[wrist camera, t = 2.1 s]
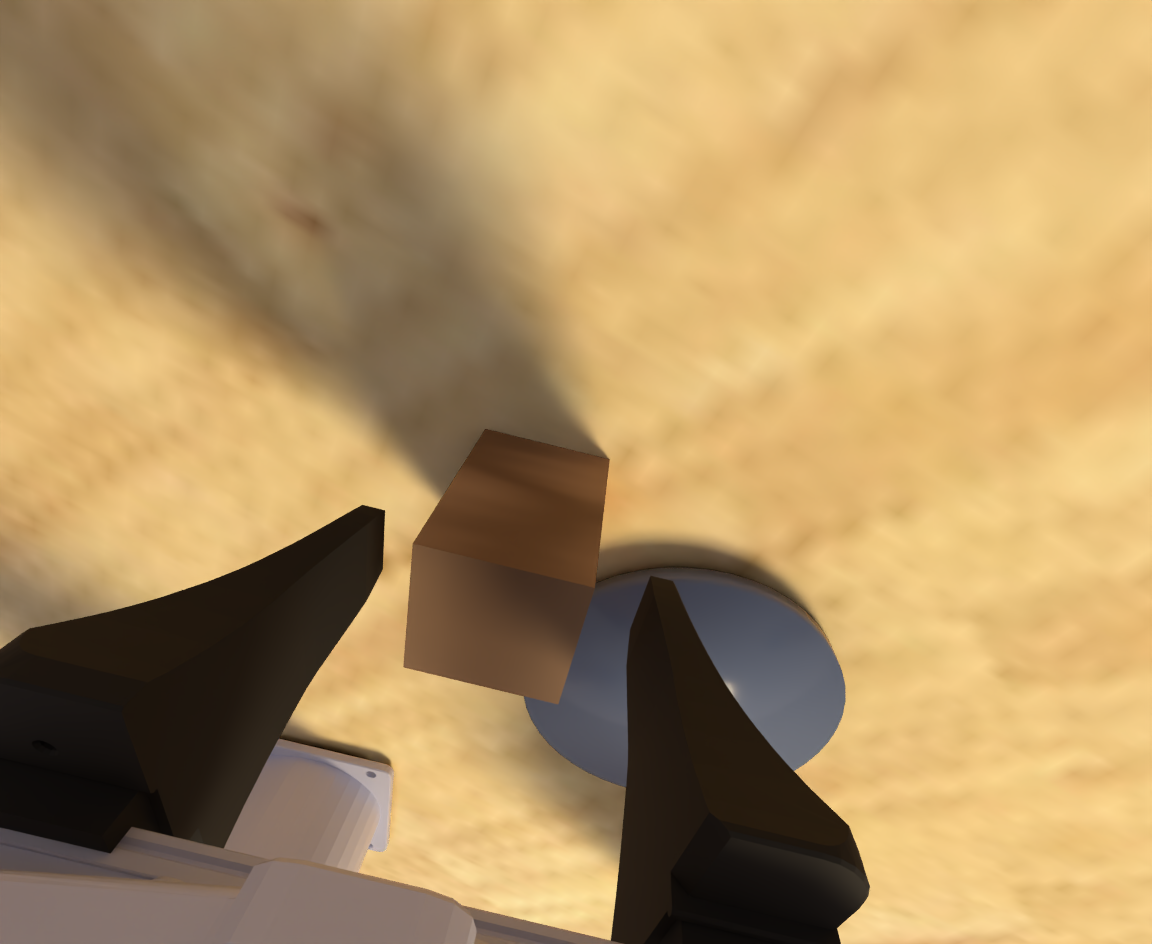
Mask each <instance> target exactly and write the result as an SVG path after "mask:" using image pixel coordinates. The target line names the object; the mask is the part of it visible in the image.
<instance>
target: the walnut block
mask: <svg viewBox="0 0 1152 944" xmlns="http://www.w3.org/2000/svg"><path fill="white" fill-rule="evenodd" d="M609 460H610V459H606V458H602V457H597V456H593V455H589V454H585V453H581V452H577V451H573V450H569V449H565V448H561V447H557V446H553V445H549V444H545V443H541V442H536V441H532V440H528V439H524V438H520V437H516V436H512V435H508V434H504V433H500V432H496V431H492V430H488V429H485V431H484V432H483V434H482V435H481V437H480V439H479V440H478V442H477V443H476V445H475V446H474V448H473V450H472V451H471V453H470V454H469V456H468V457H467V459H466V461H465V462H464V464H463V465H462V467H461V468H460V470H459V472H458V473H457V475H456V476H455V478H454V480H453V481H452V483H451V484H450V486H449V487H448V489H447V491H446V492H445V494H444V495H443V497H442V498H441V500H440V502H439V503H438V505H437V506H436V508H435V509H434V511H433V513H432V514H431V516H430V517H429V519H428V521H427V522H426V524H425V525H424V527H423V528H422V530H421V532H420V533H419V535H418V536H417V538H416V539H415V541H414V543H413V549H412V562H411V575H410V588H409V601H408V614H407V628H406V641H405V654H404V667H405V668H409V669H413V670H417V671H421V672H425V673H429V674H434V675H438V676H442V677H446V678H450V679H454V680H459V681H463V682H467V683H471V684H475V685H479V686H483V687H488V688H492V689H496V690H500V691H504V692H508V693H513V694H517V695H521V696H525V697H529V698H533V699H537V700H542V701H546V702H550V703H554V704H559V701H560V697H561V694H562V691H563V688H564V685H565V681H566V678H567V675H568V672H569V669H570V665H571V662H572V659H573V656H574V653H575V650H576V646H577V643H578V640H579V637H580V634H581V630H582V627H583V624H584V621H585V618H586V615H587V611H588V608H589V605H590V602H591V599H592V595H593V592H594V589H595V582H596V574H597V565H598V556H599V547H600V539H601V530H602V521H603V512H604V504H605V495H606V486H607V477H608V469H609Z"/></svg>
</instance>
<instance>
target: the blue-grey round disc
mask: <svg viewBox="0 0 1152 944" xmlns="http://www.w3.org/2000/svg"><path fill="white" fill-rule="evenodd" d="M650 576H655V577H659V578H663V579H667V580H671V581H673V582H674V584H675V585H676V588H677V590H678V592H679V595H680V597H681V599H682V602H683V604H684V606H685V608H686V611H687V613H688V615H689V617H690V619H691V621H692V623H693V626H694V628H695V630H696V632H697V634H698V636H699V637H700V639H701V641H702V643H703V645H704V647H705V649H706V651H707V653H708V655H709V656H710V658H711V660H712V662H713V664H714V665H715V667H716V669H717V670H718V672H719V674H720V676H721V677H722V679H723V681H724V682H725V684H726V685H727V687H728V688H729V690H730V692H731V693H732V695H733V696H734V697H735V699H736V700H737V702H738V703H739V705H740V706H741V707H742V709H743V710H744V712H745V713H746V714H747V716H748V717H749V718H750V720H751V721H752V722H753V724H754V725H755V726H756V728H757V729H758V730H759V731H760V732H761V734H762V735H763V736H764V737H765V739H766V740H767V741H768V742H769V744H770V745H771V746H772V747H773V748H774V750H775V751H776V752H777V753H778V754H779V755H780V756H781V758H782V759H783V760H784V761H785V762H786V763H787V764H788V765H789V767H790V768H791V769H792V770H793V771H795V770H796V769H798V768H799V767H801V766H802V765H804V764H805V763H807V762H808V761H809V760H810V759H812V758H813V757H814V756H815V755H816V754H818V753H819V752H820V750H821V749H822V748H823V747H824V746H825V745H826V744H827V743H828V742H829V740H830V739H831V737H832V736H833V734H834V732H835V731H836V729H837V727H838V725H839V722H840V720H841V718H842V715H843V710H844V705H845V683H844V678H843V674H842V670H841V668H840V665H839V663H838V660H837V658H836V656H835V653H834V651H833V649H832V646H831V644H830V642H829V640H828V638H827V636H826V635H825V633H824V632H823V631H822V629H821V628H820V626H819V625H818V624H817V623H816V621H815V620H814V619H813V618H812V617H811V616H810V615H809V614H808V613H807V612H806V611H805V610H803V609H802V608H801V607H800V606H798V605H797V604H796V603H794V602H793V601H792V600H791V599H789V598H787V597H785V596H784V595H782V594H780V593H779V592H777V591H775V590H773V589H771V588H769V587H767V586H764V585H762V584H760V583H757V582H755V581H753V580H750V579H746V578H743V577H740V576H736V575H733V574H729V573H724V572H719V571H714V570H708V569H697V568H685V567H681V568H656V569H647V570H639V571H634V572H630V573H626V574H621V575H617V576H614V577H611V578H608V579H606V580H603V581H600V582H597V583H595V589H594V592H593V595H592V599H591V602H590V605H589V608H588V611H587V615H586V618H585V621H584V624H583V627H582V630H581V634H580V637H579V640H578V643H577V646H576V650H575V653H574V656H573V659H572V662H571V665H570V669H569V672H568V675H567V678H566V681H565V685H564V688H563V691H562V694H561V697H560V701H559V704H554V703H550V702H546V701H542V700H537V699H533V698H529V697H525V696H524V699H525V703H526V708H527V710H528V713H529V715H530V717H531V720H532V721H533V723H534V725H535V726H536V728H537V729H538V731H539V733H540V734H541V735H542V736H543V737H544V739H545V740H546V741H547V742H548V743H549V744H550V745H551V746H552V747H553V748H554V749H555V750H556V751H557V752H558V753H559V754H560V755H562V756H563V757H565V758H566V759H567V760H569V761H570V762H571V763H573V764H574V765H576V766H578V767H579V768H581V769H583V770H585V771H586V772H588V773H590V774H592V775H595V776H597V777H599V778H601V779H603V780H606V781H609V782H611V783H614V784H617V785H620V786H624V787H626V781H627V768H628V722H627V675H626V664H627V653H628V643H629V634H630V628H631V625H632V623H633V620H634V617H635V615H636V612H637V610H638V607H639V604H640V602H641V599H642V596H643V594H644V591H645V589H646V586H647V583H648V581H649V578H650Z"/></svg>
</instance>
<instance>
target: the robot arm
mask: <svg viewBox="0 0 1152 944" xmlns="http://www.w3.org/2000/svg"><path fill="white" fill-rule="evenodd" d="M384 522H385V510H381V509H377V508H373V507H369V506H365V505H361V506H360V507H358V508H356V509H354V510H352V511H351V512H349V513H347V514H345V515H344V516H342V517H340V518H338V519H337V520H335V521H333V522H331V523H330V524H328V525H326V526H324V527H322V528H321V529H319V530H317V531H315V532H314V533H312V534H310V535H308V536H306V537H304V538H303V539H301V540H299V541H297V542H295V543H293V544H291V545H289V546H287V547H285V548H283V549H281V550H279V551H277V552H275V553H273V554H271V555H269V556H267V557H265V558H263V559H261V560H259V561H257V562H255V563H252V564H250V565H248V566H246V567H243V568H241V569H239V570H236V571H234V572H231V573H229V574H226V575H224V576H221V577H219V578H216V579H214V580H211V581H208V582H206V583H203V584H200V585H197V586H194V587H191V588H188V589H185V590H182V591H179V592H176V593H173V594H170V595H167V596H164V597H161V598H157V599H154V600H150V601H147V602H143V603H140V604H136V605H133V606H129V607H125V608H121V609H117V610H114V611H110V612H106V613H101V614H97V615H93V616H88V617H84V618H79V619H74V620H69V621H65V622H60V623H55V624H50V625H45V626H40V627H35V628H29V629H28V630H26V631H25V632H24V633H22V634H21V635H19V636H18V637H17V638H15V639H14V640H12V641H11V642H10V643H8V644H7V645H6V646H4V647H3V648H1V649H0V944H841V942H840V938H839V935H838V931H837V928H838V927H839V926H840V925H841V924H842V923H843V922H844V921H846V920H847V919H848V918H849V917H850V916H851V915H852V914H854V913H855V912H856V911H857V910H858V909H859V908H860V907H861V905H862V904H863V903H864V902H865V900H866V899H867V897H868V894H869V888H870V885H869V882H868V879H867V876H866V873H865V870H864V867H863V863H862V860H861V857H860V854H859V850H858V848H857V845H856V843H855V840H854V838H853V835H852V833H851V830H850V828H849V825H847V824H846V823H845V822H844V821H843V820H842V819H841V818H840V817H839V816H838V815H837V814H836V813H835V812H834V811H833V810H832V809H831V808H830V807H829V806H828V805H827V804H826V803H825V802H824V801H823V800H821V799H820V798H819V797H818V796H817V795H816V794H815V793H814V792H813V791H812V790H811V789H810V788H809V787H808V786H807V785H806V784H805V783H804V782H803V781H802V779H801V778H800V777H799V776H798V775H797V774H796V773H795V772H794V771H793V770H792V769H791V768H790V767H789V765H788V764H787V763H786V762H785V761H784V760H783V759H782V758H781V756H780V755H779V754H778V753H777V752H776V751H775V750H774V748H773V747H772V746H771V745H770V744H769V742H768V741H767V740H766V739H765V737H764V736H763V735H762V734H761V732H760V731H759V730H758V729H757V728H756V726H755V725H754V724H753V722H752V721H751V720H750V718H749V717H748V716H747V714H746V713H745V712H744V710H743V709H742V707H741V706H740V705H739V703H738V702H737V700H736V699H735V697H734V696H733V695H732V693H731V692H730V690H729V688H728V687H727V685H726V684H725V682H724V681H723V679H722V677H721V676H720V674H719V672H718V670H717V669H716V667H715V665H714V664H713V662H712V660H711V658H710V656H709V655H708V653H707V651H706V649H705V647H704V645H703V643H702V641H701V639H700V637H699V636H698V634H697V632H696V630H695V628H694V626H693V623H692V621H691V619H690V617H689V615H688V613H687V611H686V608H685V606H684V604H683V602H682V599H681V597H680V595H679V592H678V590H677V588H676V585H675V584H674V582H673V581H671V580H667V579H663V578H659V577H655V576H650V578H649V581H648V583H647V586H646V589H645V591H644V594H643V596H642V599H641V602H640V604H639V607H638V610H637V612H636V615H635V617H634V620H633V623H632V625H631V628H630V634H629V643H628V653H627V664H626V675H627V722H628V768H627V781H626V795H625V808H624V819H623V831H622V842H621V853H620V863H619V872H618V882H617V892H616V901H615V910H614V919H613V927H612V936H611V941H610V940H605V939H601V938H597V937H593V936H589V935H584V934H580V933H576V932H572V931H568V930H563V929H559V928H555V927H551V926H547V925H542V924H538V923H534V922H530V921H526V920H521V919H517V918H513V917H509V916H505V915H500V914H496V913H492V912H488V911H484V910H479V909H475V908H471V907H467V906H463V905H461V904H459V903H458V902H457V901H455V900H454V899H453V898H450V897H447V896H445V895H442V894H439V893H436V892H434V891H431V890H428V889H424V888H420V887H416V886H411V885H407V884H403V883H399V882H395V881H390V880H386V879H382V878H378V877H374V876H369V875H365V874H361V873H358V872H359V870H360V867H361V865H362V862H363V860H364V857H365V855H366V853H367V850H368V849H369V850H374V851H378V852H383V851H385V850H386V849H387V846H388V843H389V833H390V820H391V806H392V792H393V778H394V771H393V769H392V767H391V766H389V765H387V764H384V763H380V762H375V761H371V760H367V759H363V758H359V757H354V756H350V755H346V754H342V753H338V752H333V751H329V750H325V749H321V748H317V747H312V746H308V745H304V744H300V743H296V742H291V741H287V740H283V739H279V737H280V735H281V733H282V732H283V730H284V728H285V726H286V724H287V722H288V721H289V719H290V717H291V715H292V713H293V712H294V710H295V708H296V706H297V704H298V703H299V701H300V699H301V697H302V696H303V694H304V692H305V690H306V688H307V687H308V685H309V684H310V682H311V681H312V679H313V677H314V676H315V674H316V673H317V671H318V670H319V668H320V667H321V666H322V664H323V663H324V661H325V660H326V658H327V657H328V656H329V654H330V653H331V651H332V650H333V648H334V647H335V646H336V644H337V643H338V641H339V640H340V638H341V637H342V636H343V634H344V633H345V631H346V630H347V628H348V627H349V626H350V624H351V623H352V621H353V620H354V618H355V617H356V615H357V614H358V613H359V611H360V610H361V608H362V607H363V605H364V604H365V602H366V600H367V599H368V597H369V595H370V593H371V591H372V589H373V587H374V585H375V583H376V581H377V579H378V577H379V575H380V574H381V572H382V570H383V549H384Z"/></svg>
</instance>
